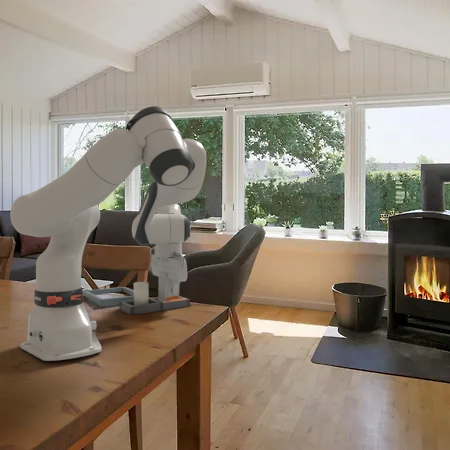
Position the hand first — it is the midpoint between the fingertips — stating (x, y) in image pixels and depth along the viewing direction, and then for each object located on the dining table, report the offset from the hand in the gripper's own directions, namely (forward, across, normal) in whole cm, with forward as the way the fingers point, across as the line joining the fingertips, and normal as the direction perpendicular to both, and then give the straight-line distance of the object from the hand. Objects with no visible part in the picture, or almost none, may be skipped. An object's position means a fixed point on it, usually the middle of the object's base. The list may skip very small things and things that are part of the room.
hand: (168, 291), depth 156 cm
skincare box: (+5, 0, 0) cm, 5 cm away
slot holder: (+5, 0, +5) cm, 7 cm away
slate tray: (+5, +19, +13) cm, 23 cm away
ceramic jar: (+5, 0, +10) cm, 11 cm away
